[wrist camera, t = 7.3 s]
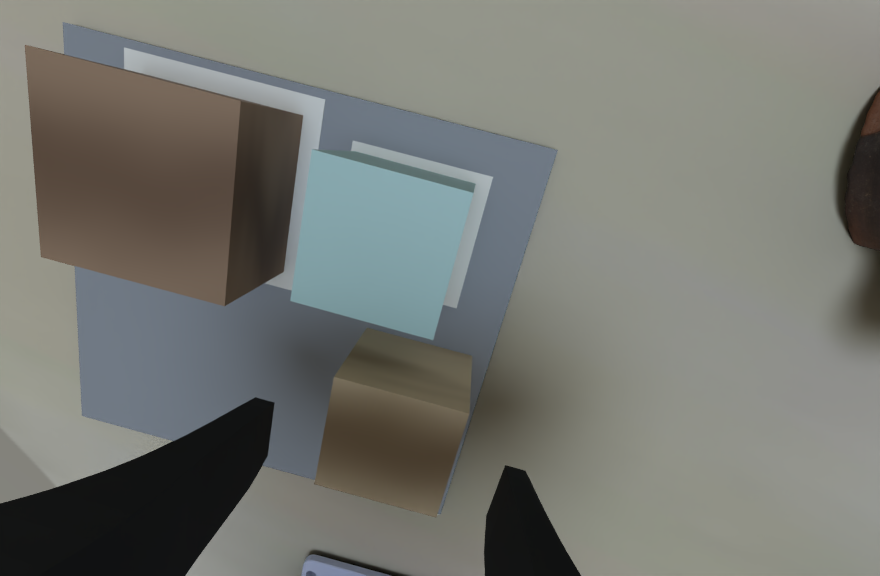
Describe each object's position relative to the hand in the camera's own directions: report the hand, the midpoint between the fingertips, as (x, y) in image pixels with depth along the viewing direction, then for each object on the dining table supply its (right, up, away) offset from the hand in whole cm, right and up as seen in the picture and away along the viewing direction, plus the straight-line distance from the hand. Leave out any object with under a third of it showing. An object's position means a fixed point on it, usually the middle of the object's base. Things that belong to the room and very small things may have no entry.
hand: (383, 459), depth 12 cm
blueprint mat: (-5, +5, +5) cm, 8 cm away
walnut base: (-7, +9, +3) cm, 12 cm away
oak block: (0, +1, +5) cm, 5 cm away
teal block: (0, +8, +3) cm, 8 cm away
